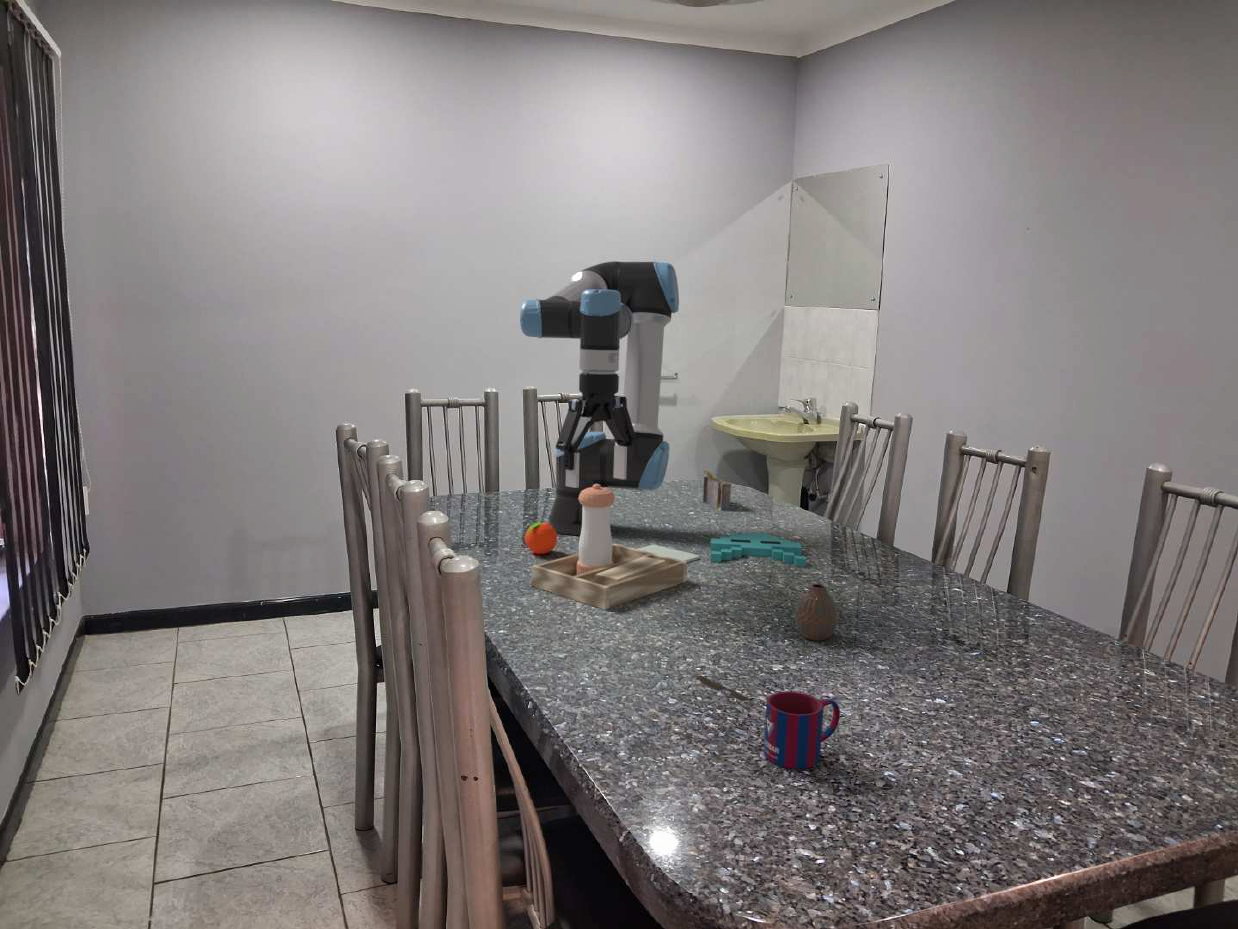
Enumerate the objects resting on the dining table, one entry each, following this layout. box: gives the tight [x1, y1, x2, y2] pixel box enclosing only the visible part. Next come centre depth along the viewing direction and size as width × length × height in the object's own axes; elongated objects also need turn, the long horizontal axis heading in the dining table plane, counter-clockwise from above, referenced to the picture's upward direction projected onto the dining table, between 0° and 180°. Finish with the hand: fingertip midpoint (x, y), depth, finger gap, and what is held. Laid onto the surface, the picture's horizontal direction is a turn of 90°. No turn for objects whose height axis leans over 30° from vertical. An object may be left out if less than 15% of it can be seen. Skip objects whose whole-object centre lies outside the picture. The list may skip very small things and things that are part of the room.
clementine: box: [524, 521, 558, 555], centre depth 194 cm, size 8×7×7 cm
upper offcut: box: [595, 556, 665, 586], centre depth 171 cm, size 5×16×2 cm, turn 144°
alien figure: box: [710, 532, 807, 568], centre depth 201 cm, size 20×2×20 cm
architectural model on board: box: [702, 469, 732, 512], centre depth 246 cm, size 11×3×10 cm, turn 20°
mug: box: [763, 691, 841, 770], centre depth 109 cm, size 7×10×7 cm
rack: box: [530, 543, 688, 611], centre depth 175 cm, size 19×24×4 cm
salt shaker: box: [577, 484, 615, 575], centre depth 176 cm, size 7×7×19 cm
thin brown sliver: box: [695, 675, 754, 703], centre depth 128 cm, size 12×3×1 cm, turn 35°
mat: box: [637, 544, 701, 563], centre depth 194 cm, size 13×13×1 cm
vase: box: [794, 583, 839, 641], centre depth 149 cm, size 7×7×9 cm
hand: (596, 482), depth 174 cm, fingers open, 13 cm apart
